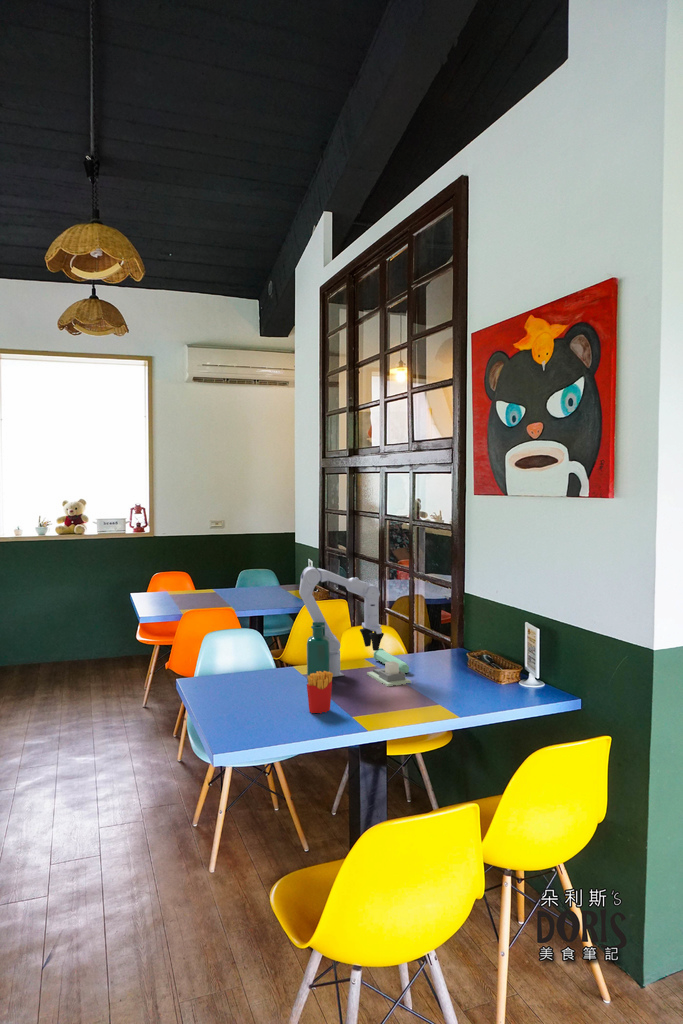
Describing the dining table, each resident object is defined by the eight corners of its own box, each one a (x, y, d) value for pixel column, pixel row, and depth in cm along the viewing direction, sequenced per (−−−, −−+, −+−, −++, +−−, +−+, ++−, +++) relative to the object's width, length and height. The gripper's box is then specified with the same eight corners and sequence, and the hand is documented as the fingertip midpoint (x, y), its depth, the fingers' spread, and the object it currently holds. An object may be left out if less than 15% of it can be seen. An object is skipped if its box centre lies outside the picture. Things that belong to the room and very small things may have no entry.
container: (409, 659, 273) (382, 645, 296) (396, 666, 271) (371, 651, 294) (414, 672, 274) (387, 657, 297) (401, 679, 272) (375, 663, 295)
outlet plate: (387, 686, 257) (387, 677, 256) (367, 674, 273) (367, 666, 273) (411, 683, 260) (410, 674, 260) (389, 671, 277) (389, 663, 277)
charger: (389, 680, 261) (389, 664, 261) (384, 677, 265) (384, 662, 265) (399, 679, 263) (399, 663, 263) (394, 676, 267) (394, 661, 266)
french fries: (311, 715, 225) (311, 676, 224) (305, 711, 228) (304, 673, 228) (335, 710, 230) (335, 671, 229) (328, 706, 233) (328, 669, 233)
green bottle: (329, 685, 259) (328, 627, 258) (307, 685, 259) (306, 628, 258) (330, 676, 269) (329, 621, 267) (308, 677, 269) (307, 621, 267)
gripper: (388, 616, 270) (388, 651, 271) (372, 610, 284) (372, 643, 284) (372, 618, 268) (372, 652, 268) (357, 612, 281) (357, 645, 281)
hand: (371, 648), depth 276 cm, fingers open, 7 cm apart
